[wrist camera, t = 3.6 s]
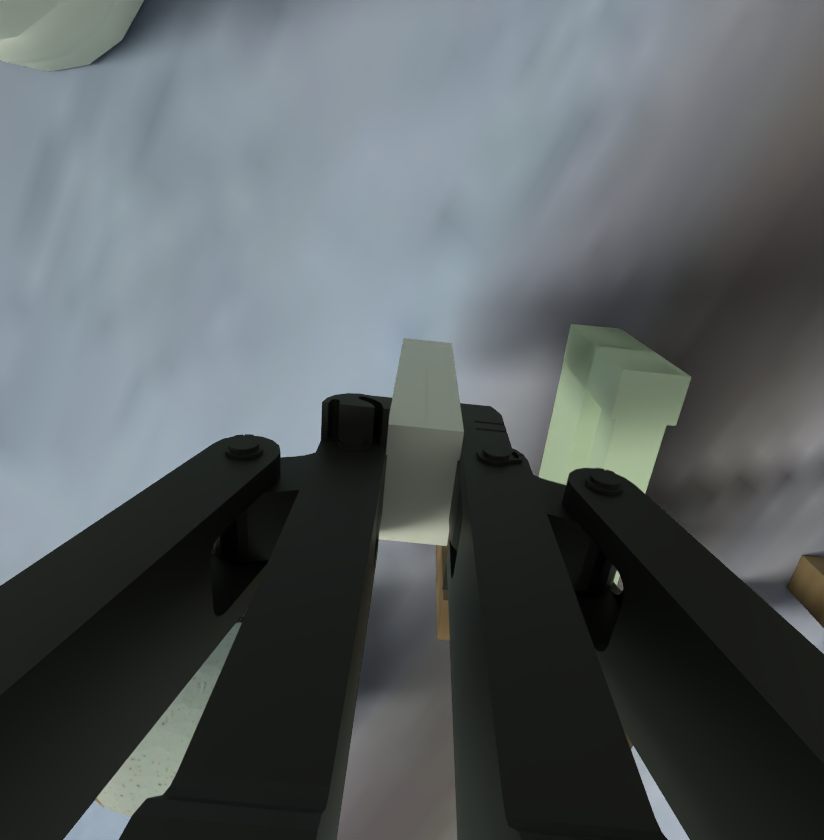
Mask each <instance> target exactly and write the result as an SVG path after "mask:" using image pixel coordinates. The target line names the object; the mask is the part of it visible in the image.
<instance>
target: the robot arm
mask: <svg viewBox="0 0 824 840" xmlns="http://www.w3.org/2000/svg"><path fill="white" fill-rule="evenodd" d="M449 533H450V541H449V548H448V554H447V561H446V567H445V574H444V581H443V587H442V589H443V590H448V609H449V634H450V660H451V685H452V711H453V737H454V762H455V788H456V814H457V839H458V840H668V839H667V838H666V837H665V836H664V835H663V833H662V832H661V830H660V827H659V825H658V823H657V821H656V819H655V816H654V814H653V811H652V808H651V805H650V802H649V800H648V797H647V794H646V791H645V788H644V785H643V783H642V780H641V777H640V774H639V771H638V769H637V766H636V763H635V760H634V757H633V755H632V752H631V749H630V746H629V743H628V741H627V738H626V735H625V732H626V734H627V736H628V737H629V739H630V741H631V742H632V744H633V746H634V747H635V749H636V751H637V752H638V754H639V756H640V757H641V759H642V761H643V762H644V764H645V766H646V767H647V769H648V771H649V772H650V774H651V776H652V777H653V779H654V781H655V782H656V784H657V786H658V787H659V789H660V791H661V792H662V794H663V796H664V797H665V799H666V801H667V802H668V804H669V806H670V807H671V809H672V811H673V812H674V814H675V815H676V817H677V819H678V820H679V822H680V824H681V825H682V827H683V829H684V830H685V832H686V834H687V835H688V837H689V839H690V840H824V654H823V653H822V652H821V651H820V650H819V649H817V648H816V647H815V646H814V645H813V644H812V643H811V642H810V641H808V640H807V639H806V638H805V637H804V636H803V635H802V634H801V633H800V632H798V631H797V630H796V629H795V628H794V627H793V626H792V625H791V624H790V623H788V622H787V621H786V620H785V619H784V618H783V617H782V616H781V615H780V614H778V613H777V612H776V611H775V610H774V609H773V608H772V607H771V606H769V605H768V604H767V603H766V602H765V601H764V600H763V599H762V598H761V597H759V596H758V595H757V594H756V593H755V592H754V591H753V590H752V589H751V588H749V587H748V586H747V585H746V584H745V583H744V582H743V581H742V580H741V579H739V578H738V577H737V576H736V575H735V574H734V573H733V572H732V571H730V570H729V569H728V568H727V567H726V566H725V565H724V564H723V563H722V562H720V561H719V560H718V559H717V558H716V557H715V556H714V555H713V554H712V553H710V552H709V551H708V550H707V549H706V548H705V547H704V546H703V545H702V544H700V543H699V542H698V541H697V540H696V539H695V538H694V537H693V536H691V535H690V534H689V533H688V532H687V531H686V530H685V529H684V528H683V527H681V526H680V525H679V524H678V523H677V522H676V521H675V520H674V519H673V518H671V517H670V516H669V515H668V514H667V513H666V512H665V511H664V510H663V509H661V508H660V507H659V506H658V505H657V504H656V503H655V502H654V501H653V500H651V499H650V498H649V497H648V496H647V495H646V494H645V493H644V492H642V491H641V490H640V489H639V488H638V487H637V486H636V485H635V484H633V483H632V482H630V481H629V480H627V479H626V478H625V477H622V476H620V475H618V474H615V472H613V471H610V470H607V469H606V470H604V469H602V468H580V469H575V470H574V471H572V472H570V473H569V476H568V480H567V484H566V485H564V484H560V483H556V482H553V481H549V480H546V479H543V478H540V477H537V476H535V475H533V474H532V471H531V468H530V465H529V462H528V460H527V459H526V458H525V456H524V455H523V454H521V453H520V452H518V451H517V450H515V449H512V447H511V444H510V441H509V437H508V434H507V433H506V428H505V426H504V422H503V419H502V415H501V414H500V413H498V412H497V411H496V410H495V409H493V408H492V407H491V406H481V405H471V404H462V403H460V400H459V392H458V385H457V378H456V371H455V364H454V356H453V349H452V343H445V342H435V341H425V340H416V339H406V338H404V339H403V344H402V349H401V355H400V360H399V366H398V371H397V376H396V382H395V387H394V393H393V398H388V397H379V396H370V395H364V394H350V393H347V394H339V395H334V396H331V397H328V398H326V399H325V400H324V401H323V402H322V425H321V442H320V444H319V446H318V449H317V451H316V453H313V454H309V455H305V456H297V457H282V458H280V448H279V445H278V444H277V443H275V442H274V441H273V440H270V439H267V438H264V437H259V436H254V435H245V436H243V435H236V436H234V437H230V438H225V439H222V440H220V441H218V442H216V443H214V444H212V445H211V446H209V447H208V448H206V449H205V450H203V451H202V452H200V453H199V454H197V455H196V456H194V457H193V458H191V459H190V460H188V461H187V462H185V463H184V464H182V465H181V466H179V467H178V468H176V469H175V470H173V471H172V472H170V473H169V474H167V475H166V476H164V477H163V478H161V479H160V480H158V481H157V482H155V483H154V484H152V485H151V486H149V487H148V488H146V489H145V490H143V491H142V492H140V493H139V494H137V495H136V496H134V497H133V498H131V499H130V500H128V501H127V502H125V503H124V504H122V505H121V506H119V507H118V508H116V509H115V510H113V511H112V512H110V513H109V514H107V515H106V516H104V517H103V518H101V519H100V520H98V521H97V522H95V523H94V524H92V525H91V526H89V527H88V528H86V529H85V530H83V531H82V532H80V533H79V534H77V535H76V536H74V537H73V538H71V539H70V540H68V541H67V542H65V543H64V544H62V545H61V546H59V547H58V548H56V549H55V550H53V551H52V552H50V553H49V554H47V555H46V556H44V557H43V558H41V559H40V560H38V561H37V562H35V563H34V564H32V565H31V566H29V567H28V568H27V569H25V570H24V571H22V572H21V573H19V574H18V575H16V576H15V577H13V578H12V579H10V580H9V581H7V582H6V583H4V584H3V585H1V586H0V840H63V839H64V838H65V837H66V835H67V834H68V833H69V832H70V830H71V829H72V828H73V827H74V825H75V824H76V823H77V822H78V820H79V819H80V818H81V817H82V815H83V814H84V813H85V811H86V810H87V809H88V808H89V806H90V805H91V804H92V803H93V801H94V800H95V799H96V798H97V796H98V795H99V794H100V793H101V791H102V790H103V789H104V788H105V786H106V785H107V784H108V783H109V781H110V780H111V779H112V778H113V776H114V775H115V774H116V773H117V771H118V770H119V769H120V768H121V766H122V765H123V764H124V763H125V761H126V760H127V759H128V758H129V756H130V755H131V754H132V753H133V751H134V750H135V749H136V748H137V746H138V745H139V744H140V743H141V741H142V740H143V739H144V738H145V736H146V735H147V734H148V733H149V731H150V730H151V729H152V728H153V726H154V725H155V724H156V723H157V721H158V720H159V719H160V718H161V716H162V715H163V714H164V712H165V711H166V710H167V709H168V707H169V706H170V705H171V704H172V702H173V701H174V700H175V699H176V697H177V696H178V695H179V694H180V692H181V691H182V690H183V689H184V687H185V686H186V685H187V684H188V682H189V681H190V680H191V679H192V677H193V676H194V675H195V674H196V672H197V671H198V670H199V669H200V667H201V666H202V665H203V664H204V662H205V661H206V660H207V659H208V657H209V656H210V655H211V654H212V652H213V651H214V650H215V649H216V647H217V646H218V645H219V644H220V642H221V641H222V640H223V639H224V637H225V636H226V635H227V634H228V632H229V631H230V630H231V629H232V627H233V626H234V625H235V624H236V622H237V621H238V620H239V618H240V617H241V616H242V615H243V613H244V612H245V611H246V610H247V608H248V607H249V608H248V610H247V612H246V614H245V617H244V619H243V621H242V624H241V626H240V628H239V631H238V633H237V635H236V637H235V640H234V642H233V644H232V647H231V649H230V651H229V654H228V656H227V658H226V661H225V663H224V665H223V667H222V670H221V672H220V674H219V677H218V679H217V681H216V684H215V686H214V688H213V690H212V693H211V695H210V697H209V700H208V702H207V704H206V707H205V709H204V711H203V714H202V716H201V718H200V720H199V723H198V725H197V727H196V730H195V732H194V734H193V737H192V739H191V741H190V743H189V746H188V748H187V750H186V753H185V755H184V757H183V760H182V762H181V764H180V767H179V769H178V771H177V773H176V775H175V777H174V779H173V781H172V783H171V785H170V787H169V788H168V789H167V790H166V791H165V793H164V794H163V795H160V796H155V797H150V798H147V799H146V800H145V801H144V802H143V803H142V804H141V806H140V807H139V808H138V809H137V810H136V811H135V812H134V814H133V815H132V817H131V819H130V820H129V822H128V824H127V826H126V828H125V829H124V831H123V833H122V835H121V837H120V838H119V840H337V833H338V826H339V819H340V812H341V805H342V798H343V791H344V784H345V777H346V770H347V763H348V756H349V749H350V742H351V735H352V728H353V721H354V714H355V707H356V700H357V693H358V686H359V679H360V672H361V665H362V658H363V651H364V644H365V637H366V630H367V623H368V616H369V609H370V602H371V595H372V588H373V581H374V574H375V567H376V560H377V552H378V541H379V539H382V540H392V541H402V542H412V543H422V544H432V545H442V546H447V542H448V535H449ZM616 571H618V573H619V574H620V576H621V579H622V582H623V588H624V589H623V591H621V590H620V589H619V588H618V587H617V585H616V584H615V583H614V582H613V581H614V578H615V575H616ZM624 731H625V732H624Z"/></svg>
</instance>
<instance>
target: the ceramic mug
mask: <svg viewBox="0 0 824 840" xmlns="http://www.w3.org/2000/svg"><path fill="white" fill-rule="evenodd" d="M241 624H242V622H241V623H236V624H235V625H234V626H233V627H232V629H231V630H230V631H229V632H228V634H227V635H226V636H225V637H224V639H223V640H222V641H221V642H220V644H219V645H218V646H217V647H216V649H215V650H214V651H213V652H212V654H211V655H210V656H209V657H208V659H207V660H206V661H205V662H204V664H203V665H202V666H201V667H200V669H199V670H198V671H197V672H196V674H195V675H194V676H193V677H192V679H191V680H190V681H189V682H188V684H187V685H186V686H185V687H184V689H183V690H182V691H181V692H180V694H179V695H178V696H177V697H176V699H175V700H174V701H173V702H172V704H171V705H170V706H169V707H168V709H167V710H166V711H165V712H164V714H163V715H162V716H161V718H160V719H159V720H158V721H157V723H156V724H155V725H154V726H153V728H152V729H151V730H150V731H149V733H148V734H147V735H146V736H145V738H144V739H143V740H142V741H141V743H140V744H139V745H138V746H137V748H136V749H135V750H134V751H133V753H132V754H131V755H130V756H129V758H128V759H127V760H126V761H125V763H124V764H123V765H122V766H121V768H120V769H119V770H118V771H117V773H116V774H115V775H114V776H113V778H112V779H111V780H110V781H109V783H108V784H107V785H106V786H105V788H104V789H103V790H102V791H101V793H100V794H99V795H98V796H97V798H96V799H95V801H97V802H98V803H99V804H101V805H102V806H103V807H105V808H108V809H110V810H112V811H115V812H117V813H121V814H124V815H127V816H131V817H132V815H133V814H134V812H135V811H136V810H137V809H138V808H139V807H140V806H141V804H142V803H143V802H144V801H145V800H146V799H147V798H150V797H155V796H160V795H163V794H164V793H165V791H166V790H167V789H168V788H169V787H170V785H171V783H172V781H173V779H174V777H175V775H176V773H177V771H178V769H179V767H180V764H181V762H182V760H183V757H184V755H185V753H186V750H187V748H188V746H189V743H190V741H191V739H192V737H193V734H194V732H195V730H196V727H197V725H198V723H199V720H200V718H201V716H202V714H203V711H204V709H205V707H206V704H207V702H208V700H209V697H210V695H211V693H212V690H213V688H214V686H215V684H216V681H217V679H218V677H219V674H220V672H221V670H222V667H223V665H224V663H225V661H226V658H227V656H228V654H229V651H230V649H231V647H232V644H233V642H234V640H235V637H236V635H237V633H238V631H239V628H240V626H241Z"/></svg>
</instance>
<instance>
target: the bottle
mask: <svg viewBox="0 0 824 840" xmlns="http://www.w3.org/2000/svg"><path fill="white" fill-rule="evenodd" d="M143 2H144V0H0V61H4V62H8V63H12V64H17V65H22V66H26V67H30V68H35V69H39V70H43V71H47V72H51V71H57V70H62V69H68V68H73V67H79V66H84V65H89V64H91V63H92V62H93V61H95V60H96V59H97V58H99V57H100V56H101V55H103V54H104V53H105V52H107V51H108V50H109V49H111V48H112V47H113V46H115V45H116V44H117V43H119V42H120V41H122V39H123V38H124V36H125V34H126V32H127V30H128V29H129V27H130V25H131V23H132V21H133V20H134V18H135V16H136V14H137V12H138V11H139V9H140V7H141V5H142V3H143Z"/></svg>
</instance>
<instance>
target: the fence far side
mask: <svg viewBox="0 0 824 840" xmlns="http://www.w3.org/2000/svg"><path fill="white" fill-rule="evenodd" d="M787 588H788V590H789V591H790V592H791V593H792V594H793V595H794V596H795V597H796V598H797V599H798V600H799V602H800V603H801V604H802V605H803V606H804V607H805V608H806V609H807V610H808V611H809V612H810V614H811V615H812V616H813V617H814V618H815V619H816V620H817V621H818V622H819V623H820V624H821V626H822V627H823V628H824V558H823V557H813V556H803V555H802V558H801V560H800V562H799V564H798V566H797V568H796V570H795V572H794V575H793V577H792V579H791V581H790V583H789V585H788V587H787Z"/></svg>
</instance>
